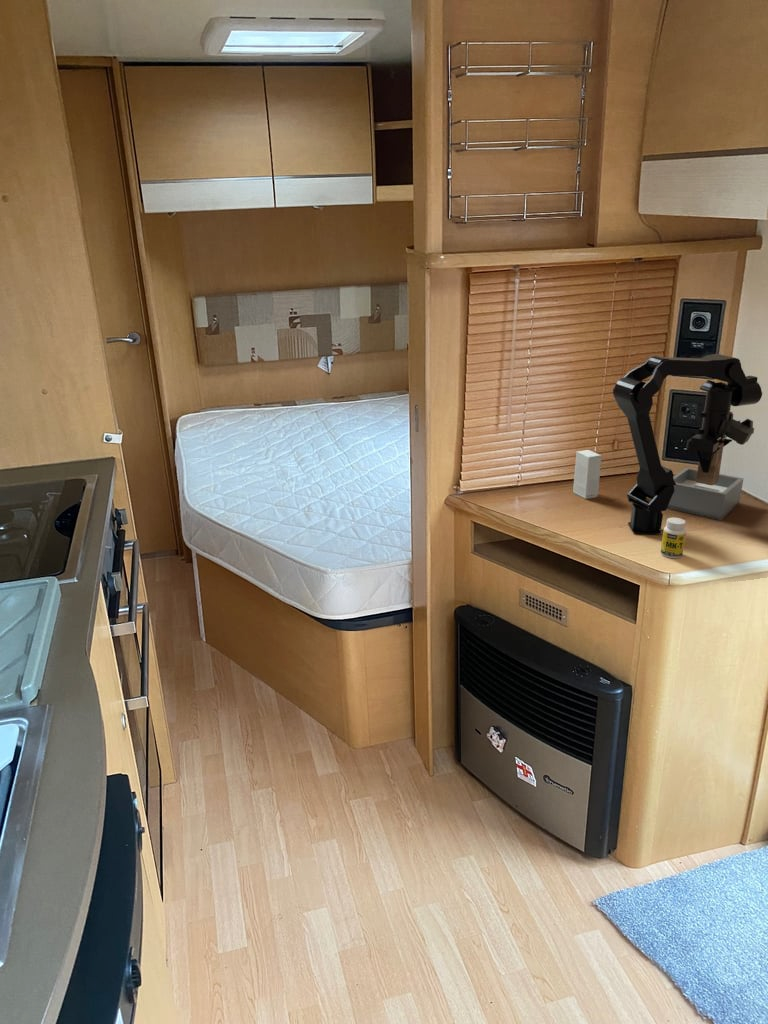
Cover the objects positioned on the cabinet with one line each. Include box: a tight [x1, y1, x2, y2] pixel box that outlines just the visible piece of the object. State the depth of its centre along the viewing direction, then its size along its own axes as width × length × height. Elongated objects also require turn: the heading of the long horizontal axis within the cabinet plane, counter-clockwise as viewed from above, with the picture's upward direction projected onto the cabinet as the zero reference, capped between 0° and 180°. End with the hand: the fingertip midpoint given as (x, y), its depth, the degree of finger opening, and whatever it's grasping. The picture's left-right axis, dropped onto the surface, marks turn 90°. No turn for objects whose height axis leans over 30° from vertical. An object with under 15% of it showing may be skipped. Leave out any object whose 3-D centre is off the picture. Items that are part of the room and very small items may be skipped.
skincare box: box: [572, 449, 602, 500], centre depth 212 cm, size 6×4×12 cm
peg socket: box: [667, 467, 744, 521], centre depth 204 cm, size 15×15×7 cm
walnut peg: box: [696, 442, 725, 486], centre depth 191 cm, size 4×4×10 cm
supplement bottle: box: [660, 517, 687, 559], centre depth 176 cm, size 5×5×8 cm
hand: (708, 470), depth 191 cm, fingers closed on walnut peg, 4 cm apart
